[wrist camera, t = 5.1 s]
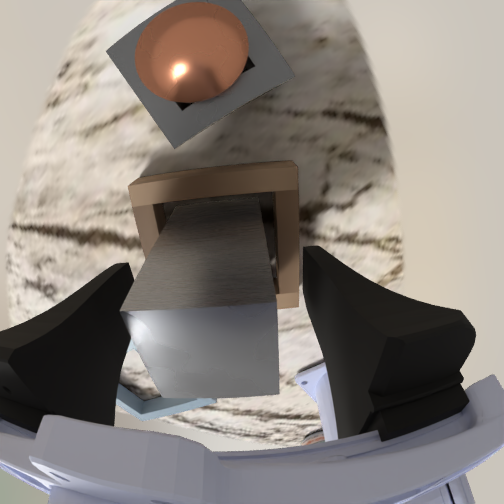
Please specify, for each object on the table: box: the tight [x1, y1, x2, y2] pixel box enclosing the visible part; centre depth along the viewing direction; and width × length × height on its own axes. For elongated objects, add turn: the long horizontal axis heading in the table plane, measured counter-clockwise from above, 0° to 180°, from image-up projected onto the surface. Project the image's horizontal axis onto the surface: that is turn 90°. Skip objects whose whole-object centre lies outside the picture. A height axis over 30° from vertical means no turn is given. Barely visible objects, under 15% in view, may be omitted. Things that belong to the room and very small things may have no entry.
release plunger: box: [135, 2, 249, 103], centre depth 8 cm, size 4×4×4 cm
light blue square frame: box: [116, 338, 217, 421], centre depth 19 cm, size 9×9×2 cm
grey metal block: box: [120, 197, 279, 398], centre depth 11 cm, size 4×4×8 cm
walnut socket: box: [128, 161, 299, 309], centre depth 14 cm, size 7×7×2 cm
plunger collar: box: [106, 0, 295, 149], centre depth 9 cm, size 5×5×3 cm
